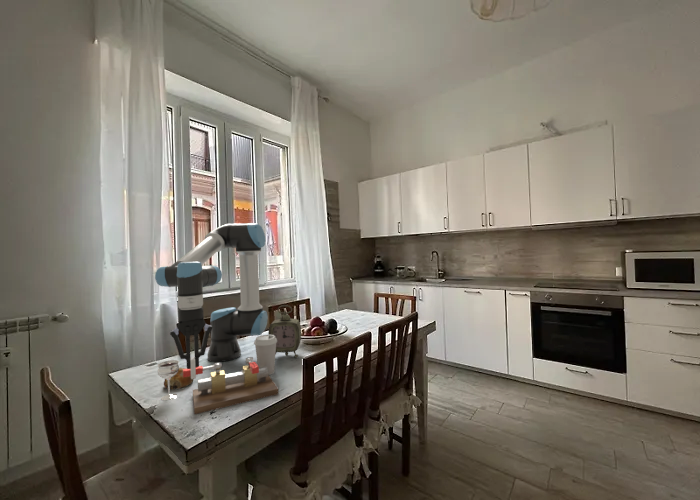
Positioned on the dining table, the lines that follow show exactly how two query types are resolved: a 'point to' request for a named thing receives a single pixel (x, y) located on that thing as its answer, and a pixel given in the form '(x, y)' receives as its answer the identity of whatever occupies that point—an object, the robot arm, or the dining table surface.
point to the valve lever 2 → (252, 365)
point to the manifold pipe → (231, 379)
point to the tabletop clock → (286, 333)
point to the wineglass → (168, 375)
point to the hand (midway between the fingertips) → (193, 377)
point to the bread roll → (178, 380)
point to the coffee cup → (266, 352)
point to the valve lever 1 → (201, 369)
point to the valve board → (233, 395)
